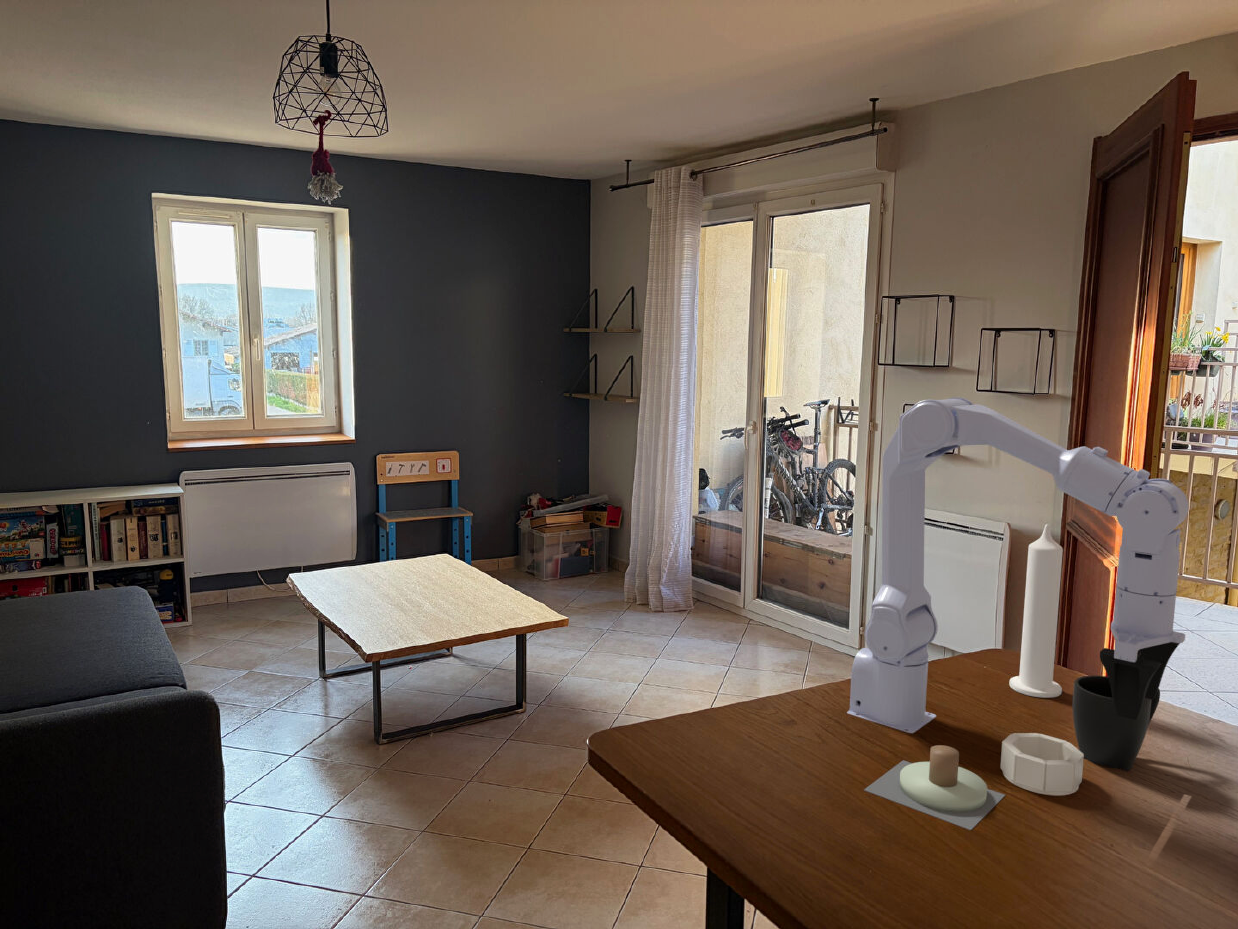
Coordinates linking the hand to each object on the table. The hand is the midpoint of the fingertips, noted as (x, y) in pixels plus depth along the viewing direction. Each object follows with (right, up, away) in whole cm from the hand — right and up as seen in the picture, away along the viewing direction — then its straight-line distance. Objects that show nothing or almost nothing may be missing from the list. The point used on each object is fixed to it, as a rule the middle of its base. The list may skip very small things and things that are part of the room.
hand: (1135, 706), depth 99 cm
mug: (+3, -9, +9) cm, 13 cm away
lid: (-22, -9, 0) cm, 24 cm away
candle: (+4, -6, +32) cm, 32 cm away
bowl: (-9, -10, +3) cm, 14 cm away
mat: (-23, -10, -1) cm, 25 cm away
